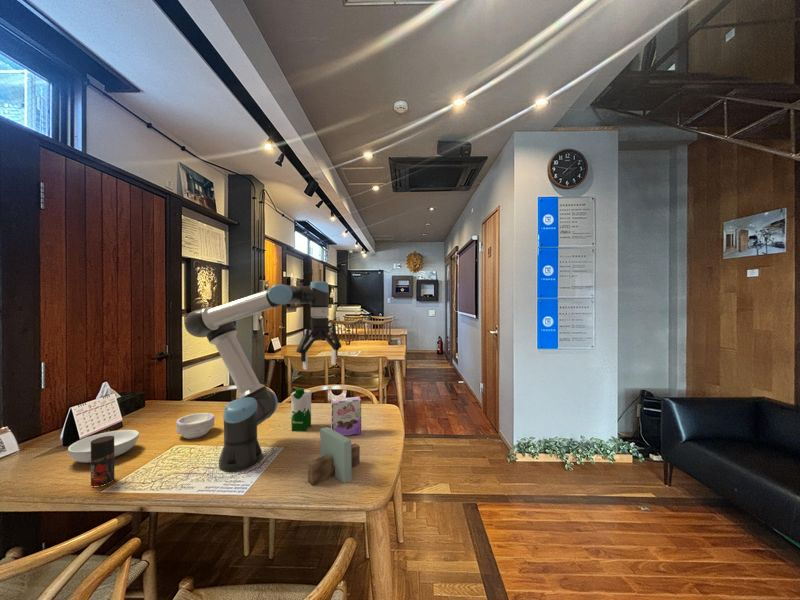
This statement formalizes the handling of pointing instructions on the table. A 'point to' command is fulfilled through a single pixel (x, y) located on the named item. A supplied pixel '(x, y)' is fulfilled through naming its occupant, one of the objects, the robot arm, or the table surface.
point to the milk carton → (301, 409)
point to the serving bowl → (121, 437)
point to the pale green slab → (337, 452)
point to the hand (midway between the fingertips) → (320, 366)
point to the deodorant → (102, 460)
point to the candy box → (346, 416)
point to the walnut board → (328, 466)
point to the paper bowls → (195, 425)
